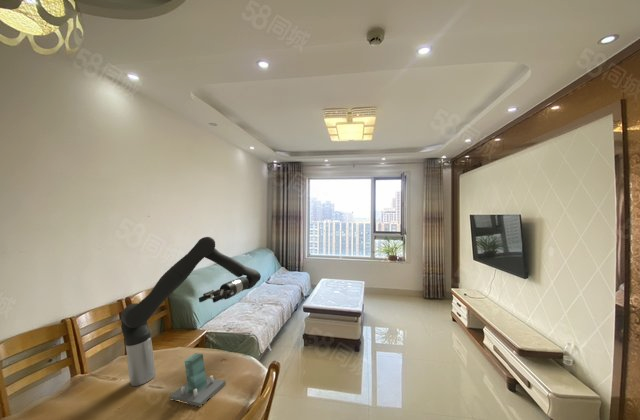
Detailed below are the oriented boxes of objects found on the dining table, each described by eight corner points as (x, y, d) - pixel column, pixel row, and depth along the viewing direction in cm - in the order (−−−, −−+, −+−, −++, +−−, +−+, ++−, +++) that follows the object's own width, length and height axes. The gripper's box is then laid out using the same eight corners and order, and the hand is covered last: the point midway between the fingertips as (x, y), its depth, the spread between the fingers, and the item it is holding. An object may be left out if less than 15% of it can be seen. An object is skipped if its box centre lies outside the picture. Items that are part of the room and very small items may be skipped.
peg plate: (170, 400, 95) (168, 389, 96) (196, 379, 107) (195, 369, 107) (200, 407, 89) (199, 396, 89) (225, 384, 100) (224, 374, 100)
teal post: (188, 392, 96) (184, 360, 97) (199, 383, 101) (195, 353, 101) (196, 393, 95) (192, 361, 95) (206, 384, 99) (202, 354, 100)
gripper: (220, 281, 133) (193, 292, 118) (241, 281, 127) (216, 292, 112) (222, 295, 133) (196, 308, 118) (243, 295, 127) (219, 308, 112)
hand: (206, 300), depth 115 cm, fingers open, 8 cm apart
